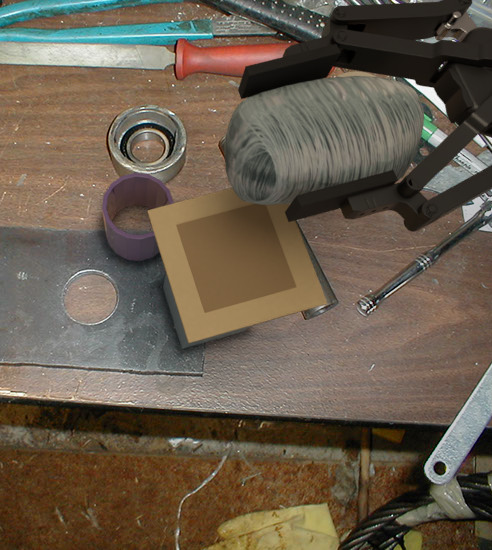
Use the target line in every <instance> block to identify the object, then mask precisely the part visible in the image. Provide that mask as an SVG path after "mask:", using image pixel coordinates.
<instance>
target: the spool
mask: <svg viewBox="0 0 492 550" xmlns="http://www.w3.org/2000/svg"><path fill="white" fill-rule="evenodd" d="M424 123H425V111H424V106H423V104H422V101H421V99H420V96H419V94H418V93H417V92H416V90H415V89H414V88H412V87H411V86H410V85H408V84H405V83H403V82H402V81H399V80H395V79H391V78H387V77H380V76H377V77H368V76H349V77H336V76H335V77H327V78H323V79H318V80H313V81H307V82H301V83H297V84H292V85H287V86H283V87H280V88H276V89H273V90H269V91H266V92H262V93H259V94H257V95H254V96H251V97H248V98H244V100H242V101H241V102H240V103H239V104H238V105H237V106H236V108H235V109H234V110H233V113H232V115H231V117H230V119H229V122H228V126H227V131H226V135H225V140H224V150H223V151H224V169H225V174H226V177H227V181H228V183H229V185H230V188H233V190H234V192H235V193H236V195H237V196H238V197H239V198H240V199H241V200H243V201H245V202H249V203H253V204H260V205H275V204H289V205H290V204H291V203H292V201H293V200H294V198H295V197H296V196H297V195H301V194H305V193H309V192H312V191H316V190H320V189H324V188H327V187H331V186H335V185H339V184H342V183H346V182H350V181H354V180H357V179H361V178H365V177H368V176H372V175H376V174H380V173H383V172H387V171H391V170H394V172H395V175H396V177H397V179H398V181H399V180H401V179H402V178H404V176H405V175H406V173H407V172H408V170H409V168H410V167H411V165H412V163H413V162H414V159H415V157H416V155H417V152H418V148H419V145H420V143H421V138H422V135H423V131H424V125H425V124H424Z"/></svg>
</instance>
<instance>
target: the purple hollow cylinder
mask: <svg viewBox="0 0 492 550" xmlns="http://www.w3.org/2000/svg"><path fill="white" fill-rule="evenodd" d="M173 203H175V202H174V199H173V197H172V193H171V190H170V189H169V188H168V186H166V184H165V183H164V182H163V180H161V179H159V178H157V177H155V176H154V175H151V174H149V173H144V172H143V173H141V172H132V173H128V174H124V175H121V176H120V177H119V178H117V179H116V180H114V181H113V182H111V183H110V184H109V186H108V187H107V189H106V191H105V193H104V194H103V199H102V203H101V204H102V205H101V211H102V218H103V225H104V232H105V237H106V240H107V244H108V245H109V247H110V248H111V250H113V252H114V253H115V254H116V255H117V256H120V257H122V258H123V259H126V260H127V261H136V262H142V261H145V260H149V259H152V258H154V257H156V256H157V255H158V254H160V251H159V248H158V245H157V241H156V238H155V235H154V232H153V231H151V232H147V233H144V234H143V233H142V234H135V233H134V234H133V233H128V232H126V231H123V230H122V229H120V228H118V227H117V226H116V225H115V223H114V222H113V220H114V218H115V216H116V215H117V213H120V212H121V211H122V210H123V209H124V208H128V207H131V206H144V207H147V208H149V209H150V210H151V209H155V208H158V207H162V206H166V205H170V204H173Z"/></svg>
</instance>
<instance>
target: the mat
mask: <svg viewBox="0 0 492 550" xmlns="http://www.w3.org/2000/svg"><path fill="white" fill-rule="evenodd" d="M289 205H290V204H275V205H260V204H253V203H249V202H245V201H243V200H241V199H240V198H239V197H238V196H237V195H236V193H235V192H234V190H233V188H232V187H230V188H226V189H223V190H219V191H214V192H212V193H208V194H203V195H201V196H196V197H193V198H189V199H184V200H182V201H178V202H174V203H173V204H170V205H166V206H162V207H158V208H155V209H151V208H150V209H148V210H147V211H146V213H147V215H148V219H149V222H150V225H151V228H152V232H154V235H155V238H156V241H157V245H158V248H159V251H160V252H159V254H160V256H161V261H162V265H163V266H164V270H165V274H166V273H167V277H168V280H169V283H170V286H171V289H172V293H173V296H174V299H175V302H176V305H177V309H178V312H179V315H180V318H181V321H182V325H183V328H184V331H185V334H186V337H187V341H188V343H192V342H196V341H199V340H203V339H206V338H210V337H213V336H217V335H220V334H224V333H227V332H231V331H234V330H238V329H241V328H245V327H248V326H250V327H252V326H255V325H258V324H262V323H266V322H270V321H273V320H276V319H279V318H280V319H281V318H284V317H287V316H290V315H294V314H297V313H300V312H305V311H308V310H311V309H315V308H319V307H322V306H326V305H328V301H327V297H326V296H325V293H324V291H323V288H322V285H321V283H320V280H319V278H318V275H317V273H316V269H315V268H314V267H315V266H314V264H313V262H312V259H311V257H310V254H309V252H308V249H307V246H306V244H305V242H304V239H303V237H302V233H301V231H300V229H299V226H298V223H297V220H295V221H291V222H288V219H287V217H286V214H285V211H286V210H287V208H288V207H289Z"/></svg>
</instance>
